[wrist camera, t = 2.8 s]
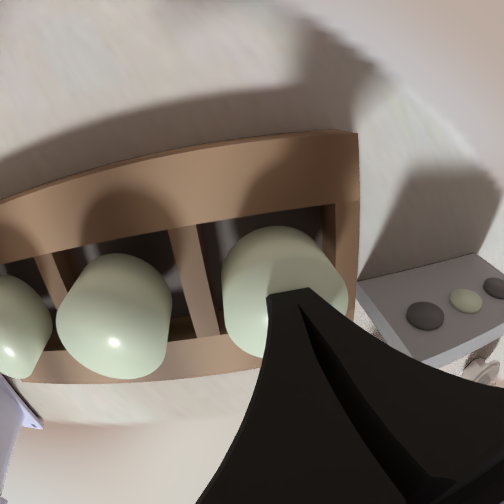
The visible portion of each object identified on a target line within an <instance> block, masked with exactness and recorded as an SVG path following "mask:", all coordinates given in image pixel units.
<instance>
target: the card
mask: <svg viewBox="0 0 504 504" xmlns="http://www.w3.org/2000/svg"><path fill="white" fill-rule="evenodd" d="M356 299H357V301H358V302H359V303H360V305H361V306H362V308H363V309H364V311H365V312H366V313H367V315H368V316H369V318H370V319H371V321H372V322H373V323H374V325H375V326H376V328H377V329H378V331H379V332H380V334H381V335H382V337H383V338H384V340H385V341H386V342H387V344H388V345H389V346H391V347H392V348H394V349H396V350H398V351H400V352H402V353H404V354H406V355H408V356H410V357H412V358H414V359H416V360H418V361H420V362H422V363H424V364H427V365H429V366H432V367H434V368H436V369H438V368H440V367H443V366H445V365H447V364H449V363H451V362H453V361H456V360H458V359H460V358H462V357H464V356H466V355H468V354H470V353H472V352H474V351H476V350H478V349H479V348H481V347H483V346H485V345H487V344H489V343H491V342H492V341H494V340H496V339H498V338H499V337H501V336H503V335H504V274H503V273H502V272H500V271H499V270H498V269H496V268H495V267H494V266H492V265H491V264H490V263H488V262H487V261H486V260H484V259H483V258H481V257H480V256H479V255H477V254H476V253H472V254H469V255H465V256H461V257H458V258H454V259H450V260H446V261H443V262H439V263H435V264H431V265H427V266H423V267H419V268H415V269H411V270H406V271H402V272H398V273H394V274H389V275H385V276H381V277H376V278H372V279H367V280H363V281H358V282H357V285H356Z"/></svg>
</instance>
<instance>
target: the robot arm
mask: <svg viewBox="0 0 504 504" xmlns="http://www.w3.org/2000/svg"><path fill="white" fill-rule="evenodd" d="M266 305H267V314H268V329H267V338H266V345H265V350H264V355H263V359H262V364H261V368H260V372H259V376H258V379H257V383H256V386H255V389H254V392H253V395H252V398H251V401H250V403H249V406H248V408H247V411H246V413H245V416H244V419H243V421H242V423H241V425H240V428H239V430H238V432H237V434H236V436H235V438H234V440H233V442H232V444H231V446H230V448H229V450H228V452H227V453H226V455H225V458H224V459H223V461H222V463H221V465H220V466H219V468H218V470H217V471H216V473H215V474H214V476H213V478H212V479H211V481H210V482H209V484H208V485H207V487H206V488H205V490H204V491H203V493H202V494H201V496H200V497H199V499H198V500H197V502H196V504H504V388H500V387H495V386H490V385H485V384H481V383H478V382H474V381H471V380H468V379H464V378H461V377H458V376H455V375H452V374H449V373H446V372H444V371H441V370H439V369H436V368H434V367H432V366H429V365H427V364H424V363H422V362H420V361H418V360H416V359H414V358H412V357H410V356H408V355H406V354H404V353H402V352H400V351H398V350H396V349H394V348H392V347H391V346H389V345H387V344H386V343H384V342H382V341H381V340H379V339H377V338H376V337H374V336H373V335H371V334H370V333H368V332H367V331H365V330H364V329H362V328H361V327H359V326H358V325H357V324H355V323H354V322H353V321H351V320H350V319H348V318H347V317H346V316H344V315H343V314H342V313H340V312H339V311H338V310H337V309H335V308H334V307H333V306H332V305H330V304H329V303H328V302H327V301H325V300H324V299H323V298H322V297H321V296H319V295H318V294H317V293H316V292H314V291H313V290H312V289H311V288H309V287H307V288H301V289H296V290H291V291H285V292H280V293H274V294H269V295H268V296H267V297H266ZM22 426H25V427H30V428H36V429H43V427H44V425H43V423H42V422H41V421H40V420H39V419H38V418H37V417H36V416H35V415H34V414H33V412H32V411H31V410H30V409H29V408H28V407H27V406H26V404H25V403H24V402H23V401H22V400H21V398H20V397H19V396H18V395H17V394H16V392H15V391H14V390H13V389H12V387H11V386H10V385H9V383H8V382H7V381H6V379H5V378H4V377H3V375H2V374H1V373H0V504H7V502H8V501H7V500H5V499H4V498H3V497H1V494H2V490H3V486H4V482H5V478H6V473H7V470H8V467H9V463H10V460H11V456H12V454H13V450H14V447H15V444H16V441H17V438H18V435H19V432H20V430H21V427H22Z"/></svg>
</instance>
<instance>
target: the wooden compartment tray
mask: <svg viewBox="0 0 504 504" xmlns="http://www.w3.org/2000/svg"><path fill="white" fill-rule="evenodd" d="M359 216H360V181H359V148H358V133H353V132H347V131H341V130H321V131H306V132H293V133H283V134H273V135H264V136H255V137H247V138H240V139H232V140H226V141H219V142H213V143H207V144H201V145H195V146H189V147H184V148H179V149H174V150H169V151H164V152H159V153H154V154H150V155H145V156H141V157H137V158H132V159H128V160H124V161H120V162H116V163H113V164H109V165H105V166H101V167H98V168H94V169H91V170H87V171H84V172H80V173H77V174H74V175H70V176H67V177H64V178H61V179H58V180H55V181H52V182H49V183H46V184H43V185H40V186H37V187H34V188H31V189H29V190H26V191H23V192H21V193H18V194H15V195H13V196H10V197H8V198H5V199H3V200H0V276H1V275H10V276H14V277H16V278H19V279H21V280H22V281H24V282H25V283H27V284H28V285H29V286H31V287H32V288H33V289H34V290H35V291H36V292H37V293H38V295H39V296H40V297H41V298H42V300H43V301H44V303H45V304H46V306H47V308H48V310H49V313H50V315H51V318H52V324H53V329H52V334H51V336H50V338H49V340H48V342H47V344H46V346H45V348H44V350H43V351H42V353H41V355H40V357H39V359H38V361H37V363H36V365H35V367H34V369H33V372H32V373H31V375H30V376H29V377H27V378H24V379H21V381H22V382H31V383H52V384H112V383H135V382H150V381H163V380H174V379H184V378H193V377H202V376H210V375H217V374H224V373H231V372H238V371H244V370H250V369H256V368H261V364H262V359H263V358H260V357H256V356H253V355H251V354H249V353H247V352H245V351H243V350H242V349H241V348H239V347H238V346H237V345H236V344H235V343H234V342H233V341H232V339H231V338H230V336H229V334H228V332H227V329H226V326H225V319H224V308H223V296H222V283H221V271H222V265H223V262H224V259H225V257H226V256H227V254H228V252H229V251H230V249H231V248H232V247H233V246H234V244H235V243H236V242H237V241H239V240H240V239H241V238H242V237H244V236H245V235H247V234H248V233H250V232H252V231H254V230H257V229H260V228H263V227H268V226H288V227H292V228H295V229H298V230H300V231H302V232H304V233H306V234H307V235H309V236H310V237H311V238H312V239H313V240H314V241H315V243H316V244H317V245H318V246H319V248H320V249H321V250H322V252H323V253H324V254H325V256H326V257H327V258H328V259H329V261H330V262H331V263H332V265H333V266H334V268H335V269H336V270H337V272H338V273H339V274H340V276H341V277H342V279H343V280H344V282H345V284H346V287H347V291H348V307H347V311H346V315H345V316H346V317H347V318H348V319H350V320H351V321H353V319H354V309H355V297H356V284H357V269H358V250H359ZM111 253H122V254H128V255H132V256H135V257H137V258H140V259H142V260H144V261H146V262H147V263H149V264H150V265H151V266H153V267H154V268H155V269H156V270H157V271H158V272H159V273H160V274H161V275H162V276H163V278H164V279H165V281H166V282H167V284H168V286H169V289H170V291H171V295H172V311H171V318H170V325H169V332H168V339H167V347H166V353H165V357H164V360H163V362H162V363H161V365H160V366H159V367H158V368H157V369H156V370H155V371H154V372H152V373H150V374H148V375H146V376H144V377H140V378H136V379H116V378H111V377H107V376H103V375H101V374H98V373H96V372H94V371H92V370H90V369H88V368H86V367H85V366H83V365H82V364H81V363H79V362H78V361H77V360H76V359H75V358H74V357H73V356H72V355H71V354H70V353H69V352H68V351H67V350H66V348H65V347H64V345H63V344H62V342H61V340H60V338H59V335H58V332H57V328H56V315H57V311H58V309H59V307H60V305H61V303H62V302H63V300H64V298H65V297H66V295H67V294H68V292H69V291H70V289H71V288H72V286H73V284H74V283H75V281H76V280H77V278H78V277H79V276H80V274H81V273H82V271H83V270H84V268H85V267H86V266H87V265H88V264H89V263H90V262H91V261H92V260H94V259H95V258H97V257H99V256H102V255H105V254H111Z"/></svg>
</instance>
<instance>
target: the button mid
mask: <svg viewBox="0 0 504 504" xmlns="http://www.w3.org/2000/svg"><path fill="white" fill-rule="evenodd" d="M171 311H172V295H171V291H170V289H169V286H168V284H167V282H166V281H165V279H164V278H163V276H162V275H161V274H160V273H159V272H158V271H157V270H156V269H155V268H154V267H153V266H151V265H150V264H149V263H147V262H146V261H144V260H142V259H140V258H137V257H135V256H132V255H128V254H122V253H111V254H105V255H102V256H99V257H97V258H95V259H94V260H92V261H91V262H90V263H89V264H88V265H87V266H86V267H85V268H84V270H83V271H82V273H81V274H80V276H79V277H78V278H77V280H76V281H75V283H74V284H73V286H72V288H71V289H70V291H69V292H68V294H67V295H66V297H65V298H64V300H63V302H62V303H61V305H60V307H59V309H58V311H57V315H56V328H57V332H58V335H59V338H60V340H61V342H62V344H63V345H64V347H65V348H66V350H67V351H68V352H69V353H70V354H71V355H72V356H73V357H74V358H75V359H76V360H77V361H78V362H79V363H81V364H82V365H83V366H85V367H86V368H88V369H90V370H92V371H94V372H96V373H98V374H101V375H103V376H107V377H111V378H116V379H136V378H140V377H144V376H146V375H148V374H150V373H152V372H154V371H155V370H156V369H157V368H158V367H159V366H160V365H161V363H162V362H163V360H164V357H165V353H166V347H167V339H168V332H169V325H170V318H171Z"/></svg>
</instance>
